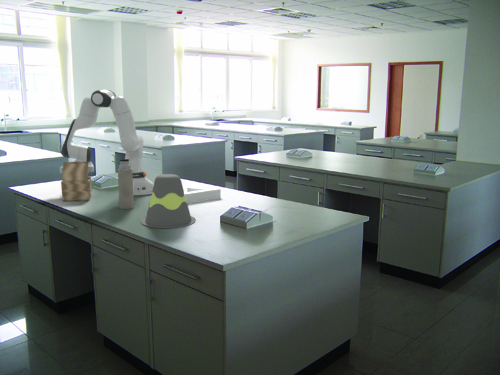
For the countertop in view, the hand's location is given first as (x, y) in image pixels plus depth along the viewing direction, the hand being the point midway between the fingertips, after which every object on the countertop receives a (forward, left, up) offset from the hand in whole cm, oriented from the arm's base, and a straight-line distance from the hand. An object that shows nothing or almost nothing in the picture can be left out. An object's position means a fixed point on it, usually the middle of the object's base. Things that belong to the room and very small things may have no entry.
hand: (75, 170), depth 273 cm
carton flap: (0, +2, 0) cm, 2 cm away
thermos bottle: (-30, +30, -18) cm, 45 cm away
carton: (0, 0, -17) cm, 18 cm away
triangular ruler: (-68, +11, -18) cm, 72 cm away
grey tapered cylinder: (-51, +64, -18) cm, 83 cm away
